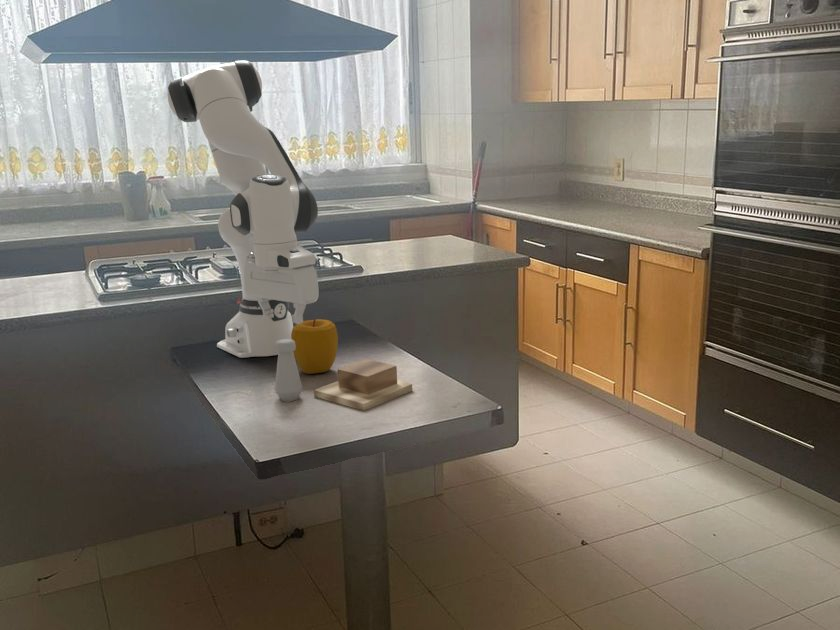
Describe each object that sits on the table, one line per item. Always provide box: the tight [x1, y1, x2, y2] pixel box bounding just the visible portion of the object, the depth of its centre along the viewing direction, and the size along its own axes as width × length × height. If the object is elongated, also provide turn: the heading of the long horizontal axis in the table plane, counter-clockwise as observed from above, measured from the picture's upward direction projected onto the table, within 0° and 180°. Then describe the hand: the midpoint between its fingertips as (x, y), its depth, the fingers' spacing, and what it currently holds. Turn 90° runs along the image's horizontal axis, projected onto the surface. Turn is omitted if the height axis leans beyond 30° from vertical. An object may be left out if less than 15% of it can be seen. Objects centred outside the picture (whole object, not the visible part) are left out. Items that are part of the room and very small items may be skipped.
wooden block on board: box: [313, 358, 413, 411], centre depth 174 cm, size 15×15×6 cm
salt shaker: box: [274, 339, 303, 403], centre depth 172 cm, size 6×6×13 cm
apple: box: [291, 318, 339, 375], centre depth 190 cm, size 11×11×13 cm
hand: (283, 320), depth 169 cm, fingers open, 8 cm apart
